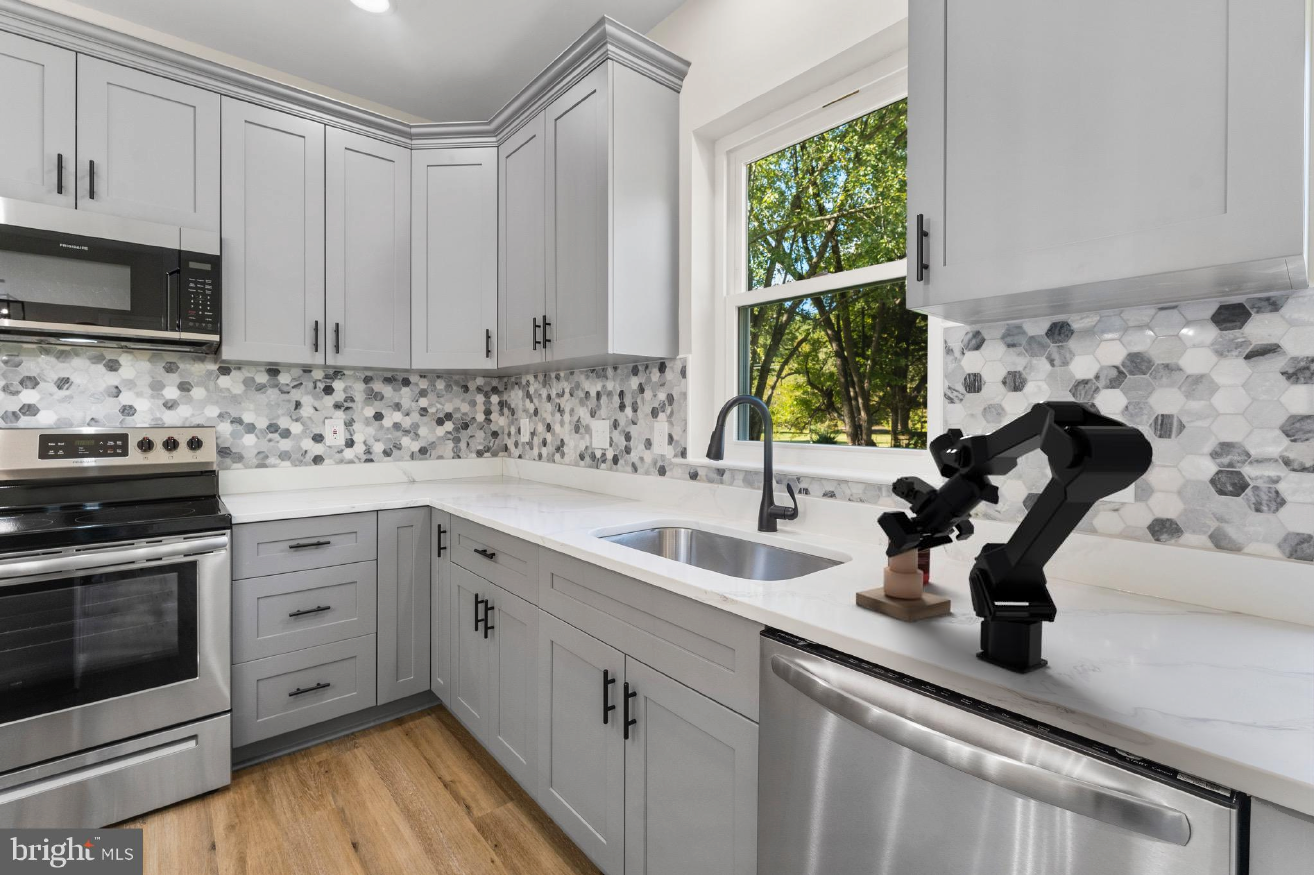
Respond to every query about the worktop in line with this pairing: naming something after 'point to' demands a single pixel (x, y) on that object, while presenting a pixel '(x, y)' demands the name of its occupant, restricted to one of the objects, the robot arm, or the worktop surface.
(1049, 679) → the worktop surface
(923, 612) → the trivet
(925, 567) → the canned food
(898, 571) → the peach chess pawn
